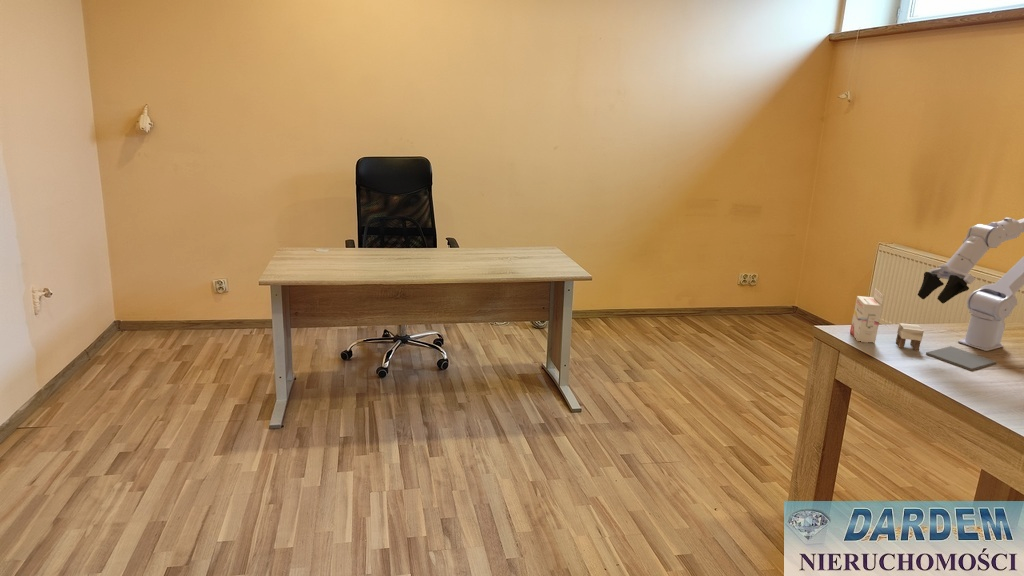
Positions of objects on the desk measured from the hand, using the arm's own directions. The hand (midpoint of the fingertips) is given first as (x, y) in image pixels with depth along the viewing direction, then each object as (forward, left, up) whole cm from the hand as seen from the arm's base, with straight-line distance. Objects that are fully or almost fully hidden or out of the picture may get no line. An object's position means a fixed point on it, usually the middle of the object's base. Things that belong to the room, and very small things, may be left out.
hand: (930, 299), depth 179 cm
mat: (-5, +9, -15) cm, 18 cm away
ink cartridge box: (+6, -13, -16) cm, 21 cm away
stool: (0, -3, -15) cm, 16 cm away
